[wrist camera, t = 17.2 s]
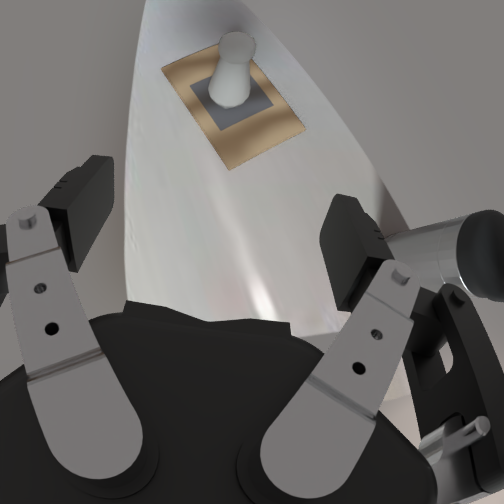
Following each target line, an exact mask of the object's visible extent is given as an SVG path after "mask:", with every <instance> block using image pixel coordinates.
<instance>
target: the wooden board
mask: <svg viewBox="0 0 504 504" xmlns="http://www.w3.org/2000/svg"><path fill="white" fill-rule="evenodd" d="M218 45H219V44H217V45H215V46H212V47H209V48H207V49H204V50H202V51H199V52H197V53H194V54H192V55H190V56H187V57H185V58H183V59H180V60H178V61H176V62H174V63H171V64H169V65H167V66H165V67H163V68H161V70H162V72H163V73H164V75H165V76H166V78H167V79H168V81H169V82H170V83H171V85H172V86H173V88H174V89H175V91H176V92H177V94H178V95H179V97H180V98H181V100H182V101H183V103H184V104H185V105H186V107H187V108H188V110H189V111H190V113H191V114H192V116H193V117H194V119H195V120H196V122H197V123H198V125H199V126H200V128H201V129H202V131H203V132H204V134H205V135H206V137H207V138H208V140H209V141H210V143H211V144H212V146H213V147H214V149H215V150H216V152H217V153H218V155H219V156H220V158H221V159H222V161H223V162H224V164H225V165H226V167H227V168H228V170H229V171H230V170H231V169H233V168H235V167H237V166H239V165H240V164H242V163H244V162H246V161H248V160H249V159H251V158H253V157H255V156H257V155H259V154H261V153H262V152H264V151H266V150H268V149H270V148H272V147H274V146H276V145H278V144H280V143H282V142H284V141H285V140H287V139H289V138H291V137H293V136H295V135H297V134H299V133H301V132H303V131H305V130H306V129H305V127H304V126H303V125H302V123H301V122H300V120H299V119H298V118H297V116H296V115H295V114H294V112H293V111H292V110H291V108H290V107H289V106H288V104H287V103H286V102H285V100H284V99H283V98H282V96H281V95H280V94H279V93H278V91H277V90H276V89H275V87H274V86H273V85H272V84H271V82H270V81H269V80H268V79H267V77H266V76H265V75H264V74H263V72H262V71H261V70H260V69H259V67H258V66H257V65H256V64H255V63H254V61H253V60H252V59H250V60H249V64H250V86H251V89H250V94H249V97H248V98H247V99H246V100H245V101H244V103H243V104H241V105H239V106H238V107H233V108H228V109H224V108H222V107H221V106H219V105H218V104H216V103H215V102H214V101H213V100H212V99H211V97H210V94H209V90H208V87H209V83H210V80H211V78H212V75H213V73H214V71H215V68H216V66H217V64H218V61H219V59H220V54H219V51H218Z"/></svg>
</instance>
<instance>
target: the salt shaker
mask: <svg viewBox="0 0 504 504" xmlns="http://www.w3.org/2000/svg"><path fill="white" fill-rule="evenodd" d="M255 50H256V43H255V40H254V38H252V37H251V36H250V35H249V34H246V33H243V32H230V33H227V34H225V35H224V36H223V37H221V39H220V42H219V45H218V51H219V54H220V59H219V61H218V64H217V66H216V68H215V71H214V73H213V75H212V78H211V80H210V83H209V87H208V90H209V94H210V97H211V99H212V100H213V101H214V102H215V103H216V104H218V105H219V106H221V107H222V108H224V109H228V108H233V107H238V106H239V105H241V104H243V103H244V101H245V100H246V99H247V98H248V97H249V94H250V89H251V86H250V64H249V60H250V59H251V58H252V57H253V56H254V54H255Z"/></svg>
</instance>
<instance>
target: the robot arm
mask: <svg viewBox="0 0 504 504" xmlns="http://www.w3.org/2000/svg"><path fill="white" fill-rule="evenodd" d="M113 203H114V160H113V158H112V157H109V156H99V155H92V156H91V157H90V158H89V159H88V160H87V161H86V162H85V163H84V164H83V165H82V166H81V167H76V168H75V169H73V170H71V171H69V172H67V173H66V174H65V175H64V176H63V177H62V178H61V179H60V180H59V182H57V184H56V185H55V186H54V188H52V189H51V190H50V191H49V192H48V194H47V195H46V196H45V197H44V198H43V199H42V200H41V201H40V203H39V204H38V205H37V206H36V205H35V206H27V207H23V208H21V209H19V210H17V211H15V212H14V213H13V214H11V216H10V217H9V218H8V219H7V222H6V224H4V225H0V307H1V304H2V303H3V301H4V299H5V297H6V295H7V293H9V296H10V301H11V307H12V313H13V318H14V323H15V328H16V333H17V337H18V342H19V346H20V350H21V353H22V358H23V361H24V364H23V365H22V366H20V367H19V368H17V369H16V370H15V371H13V372H12V373H10V374H9V375H8V376H6V377H5V378H4V379H2V380H1V381H0V504H468V503H471V502H473V501H476V500H479V499H481V498H484V497H486V496H488V495H491V494H493V493H495V492H498V491H500V490H502V489H504V373H503V370H502V368H501V365H500V363H499V360H498V358H497V355H496V353H495V351H494V348H493V346H492V343H491V341H490V339H489V337H488V334H487V332H486V330H485V328H484V326H483V324H482V321H481V319H480V317H479V315H478V313H477V311H476V309H475V307H474V305H473V303H472V301H471V299H470V298H469V297H479V298H488V299H490V300H492V301H497V302H504V215H503V214H502V213H500V212H498V211H494V210H484V211H480V212H476V213H472V214H469V215H465V216H461V217H458V218H454V219H450V220H447V221H443V222H439V223H435V224H432V225H428V226H424V227H420V228H416V229H413V230H408V231H405V232H401V233H397V234H393V235H391V236H389V237H387V238H386V239H385V240H384V237H383V235H382V233H380V229H379V227H378V226H377V224H376V222H375V221H374V220H373V219H372V218H371V217H370V216H369V215H368V214H367V213H365V212H364V210H363V209H362V207H361V205H360V203H359V201H358V199H357V198H355V197H350V196H346V195H342V194H336V195H335V196H334V198H333V200H332V202H331V205H330V208H329V210H328V213H327V215H326V218H325V221H324V223H323V226H322V228H321V232H320V247H321V250H322V254H323V258H324V261H325V265H326V268H327V272H328V276H329V280H330V283H331V287H332V291H333V295H334V299H335V302H336V306H337V310H338V311H347V312H351V315H350V317H349V319H348V320H347V322H346V323H345V325H344V326H343V328H342V329H341V331H340V332H339V334H338V335H337V337H336V338H335V340H334V341H333V343H332V344H331V346H330V347H329V349H328V350H327V352H326V353H325V354H324V353H322V351H320V350H319V349H318V348H316V347H315V346H313V345H312V344H310V343H308V342H306V341H304V340H302V339H300V338H297V337H295V336H292V335H291V330H290V323H288V322H278V321H268V320H259V319H251V318H250V319H239V320H227V321H215V322H207V321H203V320H200V319H197V318H195V317H192V316H189V315H186V314H184V313H181V312H178V311H176V310H173V309H170V308H168V307H163V306H157V305H151V304H145V303H139V302H133V301H128V300H126V304H125V306H124V310H123V312H120V313H112V314H106V315H102V316H99V317H96V318H93V319H90V320H88V319H87V317H86V314H85V312H84V310H83V307H82V305H81V302H80V300H79V297H78V295H77V292H76V290H75V287H74V284H73V282H72V279H71V276H70V273H69V271H71V272H76V273H78V271H79V269H80V267H81V265H82V263H83V261H84V259H85V257H86V256H87V254H88V252H89V250H90V248H91V246H92V244H93V243H94V241H95V239H96V237H97V235H98V234H99V232H100V230H101V228H102V226H103V225H104V223H105V221H106V219H107V218H108V216H109V214H110V212H111V210H112V208H113ZM447 341H448V343H449V346H450V349H451V351H452V354H453V366H452V368H451V370H450V371H449V372H448V373H447V374H446V371H445V368H444V365H443V361H442V358H441V356H440V352H439V350H440V349H441V348H442V347H443V346H444V344H445V343H446V342H447ZM401 356H402V358H403V362H404V366H405V370H406V374H407V378H408V382H409V386H410V390H411V395H412V399H413V403H414V408H415V412H416V417H417V422H418V427H419V432H420V437H421V442H420V445H419V449H417V448H416V447H415V446H414V445H413V444H411V442H410V441H409V440H408V439H407V438H406V437H405V436H404V435H403V434H402V433H401V432H400V431H399V430H398V429H397V428H396V427H395V426H394V425H393V424H392V423H391V422H390V421H389V420H388V419H387V418H386V417H385V416H384V415H383V414H382V413H381V412H380V411H379V410H378V409H379V407H380V405H381V403H382V401H383V399H384V396H385V394H386V392H387V390H388V388H389V385H390V383H391V381H392V378H393V376H394V374H395V371H396V369H397V366H398V364H399V361H400V359H401Z"/></svg>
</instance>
